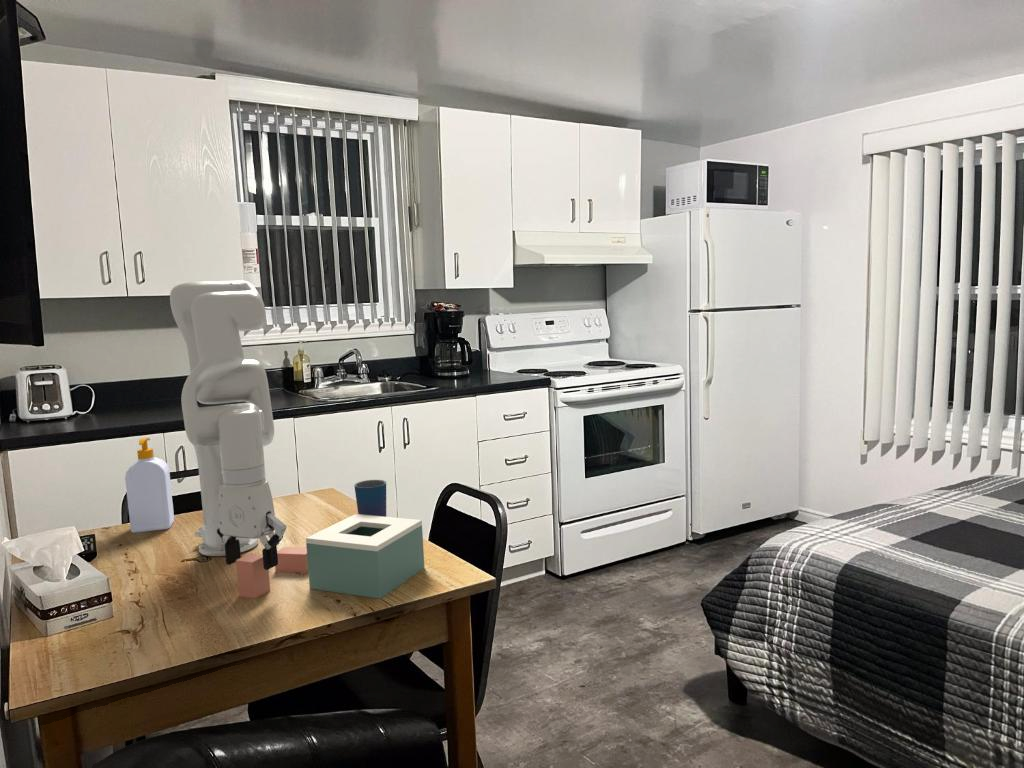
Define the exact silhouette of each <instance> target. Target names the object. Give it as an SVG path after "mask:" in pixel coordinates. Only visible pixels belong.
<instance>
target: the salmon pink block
mask: <svg viewBox="0 0 1024 768" xmlns="http://www.w3.org/2000/svg"><path fill="white" fill-rule="evenodd" d="M235 567H236V578H237V591H238V596H239V597H242V598H243V597H245V598H251V599H257V598H259V597H261V596H263V595H265V594H266V593H268V592H270V591H271V583H270V572H269V571H270V569H268V570H265V569H264V566H263V554H262V553H261V554H260V553H252V552H251V553H249V554H246V555H243V556H242V557H241V558H239V559H237V560H236V562H235Z"/></svg>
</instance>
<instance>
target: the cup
mask: <svg viewBox="0 0 1024 768" xmlns="http://www.w3.org/2000/svg"><path fill="white" fill-rule="evenodd" d="M354 493H355V501H356V509H357V514H362V515H373V516H383V517H387V481H386V480H383V479H368V480H367V479H366V480H362V481H358V482H355V483H354Z"/></svg>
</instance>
